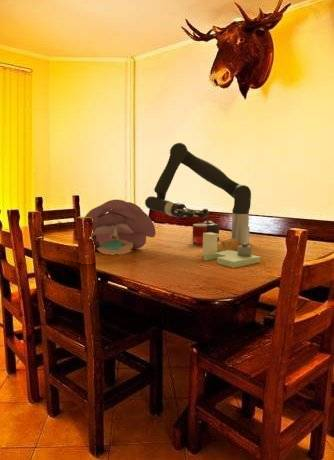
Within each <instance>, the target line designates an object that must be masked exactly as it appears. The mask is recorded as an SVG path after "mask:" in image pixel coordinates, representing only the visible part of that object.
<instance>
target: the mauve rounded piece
mask: <svg viewBox="0 0 334 460" xmlns="http://www.w3.org/2000/svg"><path fill="white" fill-rule="evenodd" d="M85 217H91V218H92V219H93V233H92V239H93V242H94V245H95V250H94V251H96V250H97V251H98V252H100V253H102V254H103V255H108V254H111V255H113V256H114V255H115V254H118V255H125V254H129V253H130V252H132V251H133V249H135V248H136V249H140V248H143V247H144V246H145V244H146V243H147V237H148V238H155V237H156V228H155V225H154V222H153V221H152V218H151V217H150V216H149V215H148V214H147V213H146V212H145V211H144V209H142V208H141V207H140V206H139V205H137V204H135V203H133V202H131V201H130V202H129V201H125V200H122V199H111V200H108V201H106V202H103V203H102V204H100V205H98V206H96V207H94V208H91V210H89V211H88V212H87V213H86V215H85V216H84V218H85ZM115 256H116V255H115Z"/></svg>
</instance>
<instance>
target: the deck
mask: <svg viewBox="0 0 334 460" xmlns="http://www.w3.org/2000/svg"><path fill="white" fill-rule="evenodd" d="M203 260H204V261H209V260H216V264H219V265H222V266H226V267H229V268H232V269H234V268H238V267H243V266H248V265H253V264H258V263H261V262H260V261H261V256H259V255H258V256H257V255H253V254H252V246H250V245H248V244H245V243H243V244H242V245H240V246H238V251H237V252H236V251H232V250H227V251H221V252H215V253H209V254H204V256H203Z"/></svg>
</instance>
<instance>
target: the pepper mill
mask: <svg viewBox="0 0 334 460" xmlns="http://www.w3.org/2000/svg"><path fill="white" fill-rule="evenodd" d="M201 213H204V214H205V217H204V218H206V220H205V221H202V222H201V223H199V224H206V225H207V233H209V232H211V233H216V234H219V235H220V224H219V223H218V224H217V223H216V222H214V221H213V220H209V219H210V218H209V216H210V213H209V209H208V208H203V209H202V210H201ZM218 240H220V236H219V237H218V238H217V241H218Z"/></svg>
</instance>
